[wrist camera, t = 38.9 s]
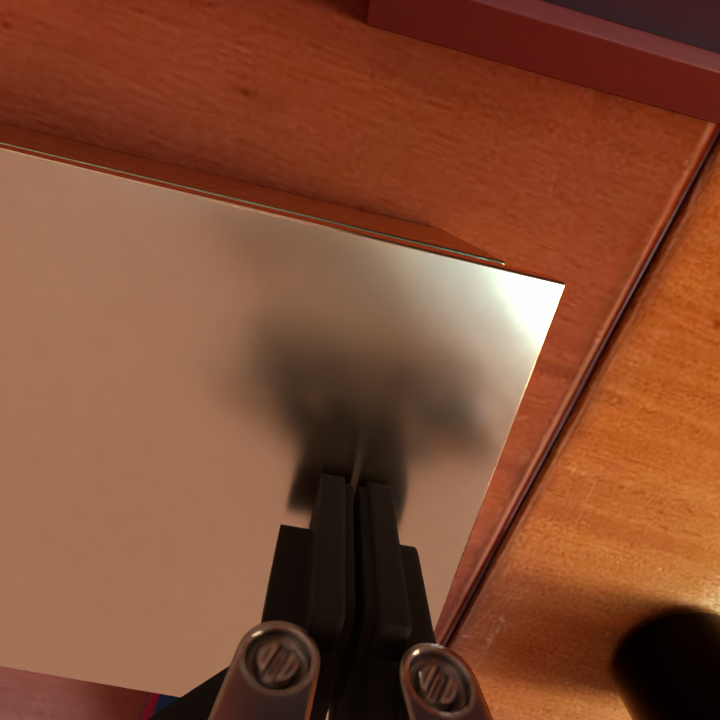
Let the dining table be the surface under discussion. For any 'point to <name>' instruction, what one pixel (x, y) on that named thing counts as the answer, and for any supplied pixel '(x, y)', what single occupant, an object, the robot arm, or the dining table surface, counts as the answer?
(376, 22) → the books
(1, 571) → the breadbin lid
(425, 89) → the dining table surface
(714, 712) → the battery
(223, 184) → the box
